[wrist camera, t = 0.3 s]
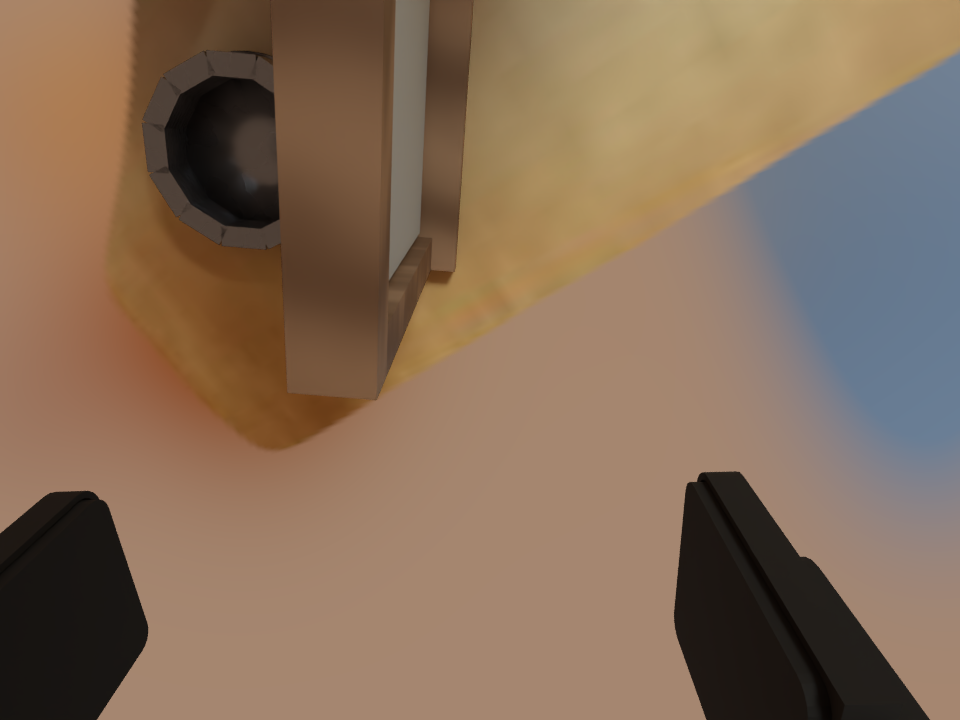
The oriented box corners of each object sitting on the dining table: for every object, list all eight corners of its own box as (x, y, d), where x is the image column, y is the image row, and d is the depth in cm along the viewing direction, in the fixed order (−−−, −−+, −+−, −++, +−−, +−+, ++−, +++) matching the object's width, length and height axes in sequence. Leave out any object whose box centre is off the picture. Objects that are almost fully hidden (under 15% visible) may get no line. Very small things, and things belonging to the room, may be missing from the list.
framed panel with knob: (366, -219, 30) (155, -785, 11) (487, -207, 30) (477, -751, 11) (362, 259, 39) (242, 388, 20) (455, 267, 39) (421, 403, 20)
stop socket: (154, 43, 34) (125, 36, 31) (346, 60, 34) (334, 55, 32) (175, 236, 38) (151, 244, 36) (347, 250, 38) (336, 260, 36)
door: (375, -162, 29) (254, -452, 14) (436, -157, 29) (379, -440, 14) (370, 228, 36) (285, 304, 22) (419, 233, 36) (369, 310, 22)
